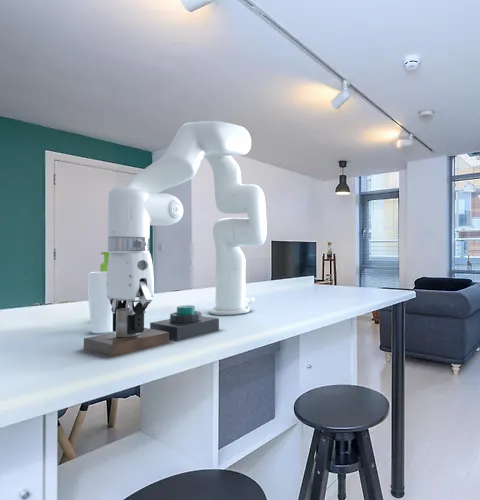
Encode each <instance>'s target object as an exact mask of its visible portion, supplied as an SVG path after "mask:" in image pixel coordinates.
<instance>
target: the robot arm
mask: <svg viewBox="0 0 480 500" xmlns="http://www.w3.org/2000/svg"><path fill="white" fill-rule="evenodd" d="M251 148H252V138H251V135H250V133H249V131H248V130H247V129H246V128H245V127H243V126H241V125H239V124H234V123H231V122H225V121H219V120H207V121H206V120H205V121H191V122H187V123H184V124H183V125H182V126H180V128H179V129H178V130H177V132H176V134H175V136H174V137H173V139H172V141H171V142H170V144H169V146H168V147H167V148H166V150H165V152H164V154H163V155H162V157H160V159H157V160H155V161H154V162H152V163H151V164H149V165H148V166H146V167H145V168H144V169H142V170H141V171H139V172H137V173H136V174H135V175H134V176H133V177H132V178H131V179H130V180H129V181H128V182H127V184H126V185H125V186H124V187H120V186H119V187H113V188H111V189H110V190H109V191H108V201H107V202H108V204H107V205H108V206H107V216H108V217H107V252H108V253H109V259H108V267H107V281H106V289H107V298H108V299H109V301H110V303H111V305H112V308H111V311H112V312H113V332H116V310H117V309H122V308H129V313H130V315H127V334H135V333H140V332H143V331H144V328H145V314H146V313H147V308H148V306H149V305H150V304H151V303H152V301H153V297H154V296H155V279H154V278H155V277H154V265H153V259H152V254H151V252H150V241H151V240H150V229H151V228H150V227H151V226H152V227H153V226H157V227H159V226H171V225H174V224H176V223H178V222H179V221H180V220H181V219H182V218H183V216H184V205H183V204H182V202H181V200H180V199H179V198H178V197H177V196H174V195H172V194H170V193H164V191H165V190H168V189H171V188H173V187H176V186H180V185H182V184H184V183H186V182H188V181H190V180H192V179H193V178H194V177H195V176H196V174H197V172H198V171H199V168H200V166H201V164H202V162H203V160H204V159H206V160H207V162H208V164H209V165H210V168H211V170H212V176H213V184H214V198H215V205H216V208H217V211H219V212H220V213H221V214H230V215H231V214H232V215H237V214H238V215H240V214H242V215H243V214H247V217H224V218H220V219H218V220H217V221H216V222H215V223H214V224H213V227H212V236H213V241H214V249H215V301H214V303H215V305H214V306H215V307H212V308H211V309H210V312H209V313H210V314H211V315H219V316H232V315H233V316H234V315H241V314H246V313H249V312H250V311H251V308H250V306H249V304H254V303H255V302H256V299H255V297H249V298H248V297H247V296H246V279H247V278H246V276H247V275H246V268H247V260H246V257H245V254H244V252H243V251H242V249H241V248H240V247H260V246H262V245H264V244H265V243H266V240H267V235H268V226H267V209H266V207H267V206H266V197H265V193H264V191H263V189H262V188H261V187H260V186H259V185H257V184H253V183H252V184H251V183H246V184H245V183H244V184H243V183H242V175H241V174H242V173H241V169H240V166H239V164H238V163H237V161H236V160H235V159H234V158H233V156H245V155H246V154H248V153H249V152H250V150H251ZM135 303H136V304H135ZM114 312H115V313H114Z"/></svg>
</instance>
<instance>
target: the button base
mask: <svg viewBox="0 0 480 500" xmlns="http://www.w3.org/2000/svg"><path fill="white" fill-rule="evenodd" d="M149 329H154V330H160V331H165V332H169V341H175V342H179V341H183V340H187V339H191V338H194V337H195V338H196V337H199V336H202V335H207V334H211V333H214V332H218V331H220V318H219V317H211V316H203V315H202V312H201V311H198V310H195V314H190V315H177V311H174V312H172V313H170V314H169V319H168V318H167V319H162V320H158V321H157V320H156V321H151V322H149Z"/></svg>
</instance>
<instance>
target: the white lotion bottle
mask: <svg viewBox="0 0 480 500" xmlns="http://www.w3.org/2000/svg"><path fill="white" fill-rule="evenodd" d="M86 281H87V283H86V285H87V298H88V299H87V300H88V308H89V309H88V311H89V320H90V332H91V333H92V334H96V335H97V334H99V335H102V334H109V333H114V331H113V312H112V311H111V308H112V305H111V303H110V301H109V299H108V298H107V289H106V281H107V271H106V272H101V271H90V272H89V271H88V272H87V280H86ZM114 313H115V312H114Z"/></svg>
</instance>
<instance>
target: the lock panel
mask: <svg viewBox="0 0 480 500" xmlns="http://www.w3.org/2000/svg"><path fill="white" fill-rule="evenodd" d="M169 343H170V340H169V332H165V331H160V330H154V329H150V327H149V328H147V327H144V331H143V332H140V334H139V335H137V336H132V337H116V332H115V331H113V332H109V333H103V334H99V335H94V336H89V337H84V338H83V351H84V352H88V353H92V354H95V355H100V356H104V357H106V358H115V357H121V356H124V355H127V354H131V353H136V352H139V351H143V350H147V349H151V348H156V347H159V346H163V345H167V344H169Z"/></svg>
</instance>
